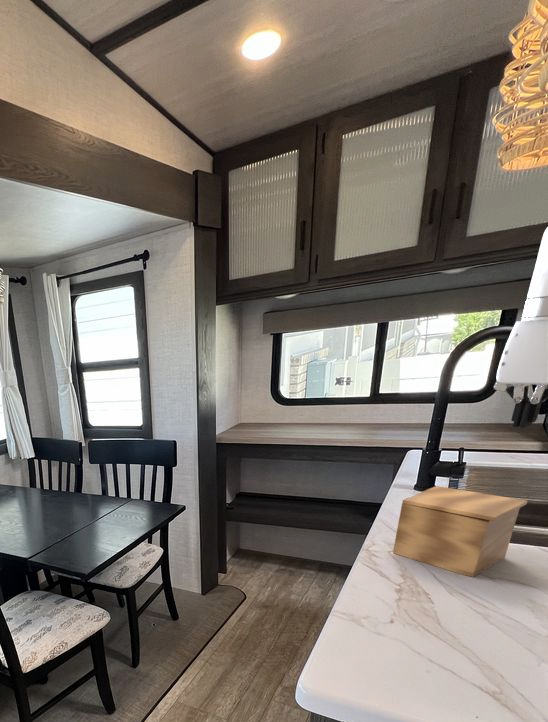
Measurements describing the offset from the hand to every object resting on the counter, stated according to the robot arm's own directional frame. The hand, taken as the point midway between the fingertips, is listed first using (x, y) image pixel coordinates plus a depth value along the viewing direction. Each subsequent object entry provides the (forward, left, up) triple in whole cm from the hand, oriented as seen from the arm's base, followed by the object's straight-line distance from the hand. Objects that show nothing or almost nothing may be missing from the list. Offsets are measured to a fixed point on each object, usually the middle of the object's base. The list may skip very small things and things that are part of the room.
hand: (522, 426), depth 82 cm
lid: (+8, -4, -17) cm, 19 cm away
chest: (+8, -4, -29) cm, 30 cm away
